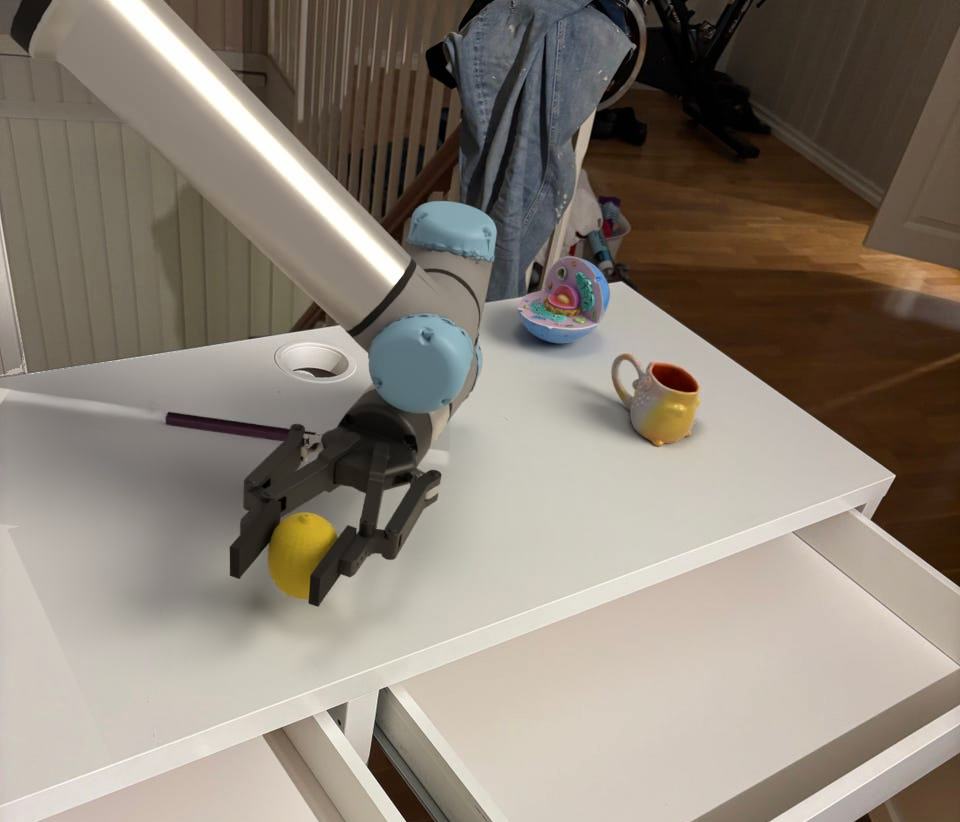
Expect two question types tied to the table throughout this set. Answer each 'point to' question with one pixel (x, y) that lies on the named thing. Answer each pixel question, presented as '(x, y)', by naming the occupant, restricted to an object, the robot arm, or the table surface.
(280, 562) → the lemon
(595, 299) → the cell model
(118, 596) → the table surface
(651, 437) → the mug
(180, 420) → the dark purple flat bar
